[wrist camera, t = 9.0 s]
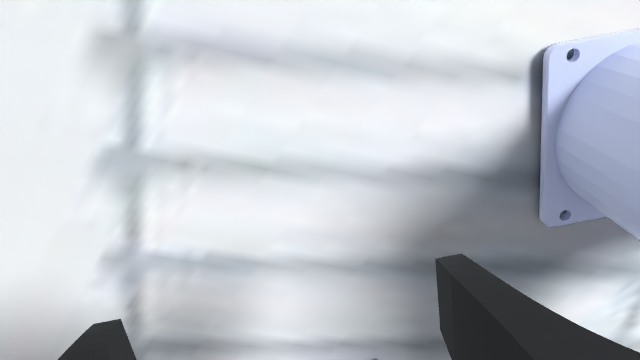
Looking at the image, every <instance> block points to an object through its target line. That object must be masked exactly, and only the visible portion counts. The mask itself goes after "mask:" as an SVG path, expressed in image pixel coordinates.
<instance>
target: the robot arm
mask: <svg viewBox="0 0 640 360" xmlns="http://www.w3.org/2000/svg"><path fill="white" fill-rule="evenodd" d="M571 49H573V50H574V55H573V57H572V58H571V59H570V60H567V57H566V56H567V53H568V52H569V50H571ZM565 210H566V213H565V214H564V215H563V216H561V217H559V216H560V214H561V212H562V211H565ZM539 217H540V220H541V221H542V223H544V224H545V225H546V226H548V227H556V226H561V225H566V224H571V223H577V222H582V221H587V220H592V219H598V218H603V217H608V218H610V219H611V220H613V221H614V222H615V223H617V224H618V225H619V226H621V227H622V228H623V229H625V230H626V231H628V232H629V233H630V234H632V235H633V236H634V237H636V238H637V239H638V240H640V28H639V29H633V30H628V31H622V32H616V33H611V34H605V35H599V36H594V37H588V38H582V39H577V40H571V41H565V42H559V43H555V44H552V45H551V46H550V47H548V48H547V50H546V51H545V53H544V57H543V90H542V130H541V169H540V209H539ZM436 273H437V287H438V301H439V316H440V330H441V332H442V335H443V338H444V340H445V343H446V346H447V348H448V351H449V353H450V356H451V358H452V360H640V353H639V352H637V351H634V350H632V349H629V348H627V347H625V346H622V345H620V344H618V343H616V342H613V341H611V340H609V339H607V338H605V337H602V336H600V335H598V334H596V333H594V332H591V331H589V330H587V329H585V328H583V327H581V326H579V325H577V324H575V323H573V322H572V321H570V320H568V319H566V318H564V317H562V316H561V315H559V314H557V313H555V312H553V311H551V310H549V309H548V308H546V307H544V306H542V305H541V304H539V303H537V302H536V301H534V300H532V299H531V298H529V297H527V296H526V295H524V294H522V293H521V292H519V291H518V290H516V289H514V288H513V287H511V286H510V285H508V284H507V283H505V282H503V281H502V280H500V279H499V278H497V277H496V276H494V275H493V274H491V273H490V272H488V271H487V270H485V269H484V268H482V267H481V266H479V265H478V264H476V263H475V262H473V261H472V260H470V259H469V258H467V257H466V256H464V255H463V254H458V255H453V256H448V257H442V258H437V259H436ZM58 360H136V358H135V355H134V352H133V350H132V347H131V345H130V342H129V339H128V337H127V334H126V332H125V329H124V326H123V324H122V321H121V319H118V320H113V321H107V322H102V323H97V324H93V325H92V326H91V327H90V328H89V329H88V330H86V331H85V332H84V333H83V334H82V335H81V336H80V337H79V338H78V339H77V340H76V341H75V342H74V343H73V344H72V345H71V346H70V347H69V348H68V349H67V350H66V351H65V353H64V354H63V355H62V356H61V357H60V358H59V359H58Z"/></svg>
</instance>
